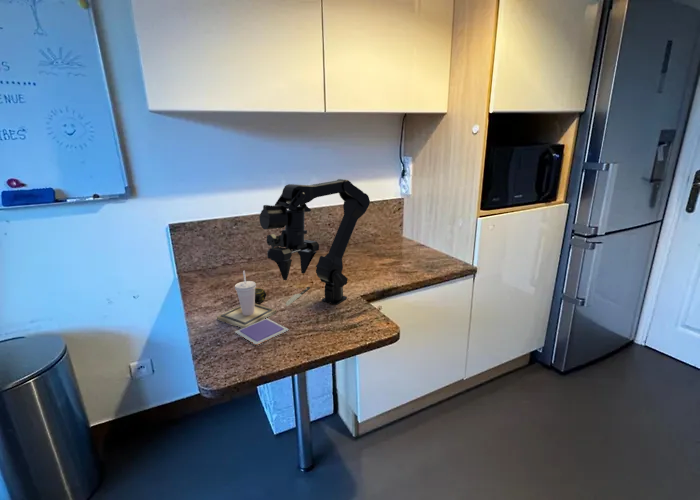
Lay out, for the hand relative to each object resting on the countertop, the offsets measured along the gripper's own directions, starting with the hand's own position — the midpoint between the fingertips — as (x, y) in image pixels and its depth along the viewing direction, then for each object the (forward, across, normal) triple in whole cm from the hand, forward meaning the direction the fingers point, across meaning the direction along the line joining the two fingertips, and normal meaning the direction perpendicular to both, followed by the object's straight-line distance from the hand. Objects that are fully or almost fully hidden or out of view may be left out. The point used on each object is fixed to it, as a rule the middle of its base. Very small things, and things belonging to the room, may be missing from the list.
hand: (294, 276), depth 113 cm
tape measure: (+14, -3, -19) cm, 23 cm away
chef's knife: (+13, -12, -9) cm, 19 cm away
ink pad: (+14, +13, -2) cm, 19 cm away
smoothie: (+13, +6, -13) cm, 20 cm away
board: (+14, +7, -13) cm, 20 cm away
